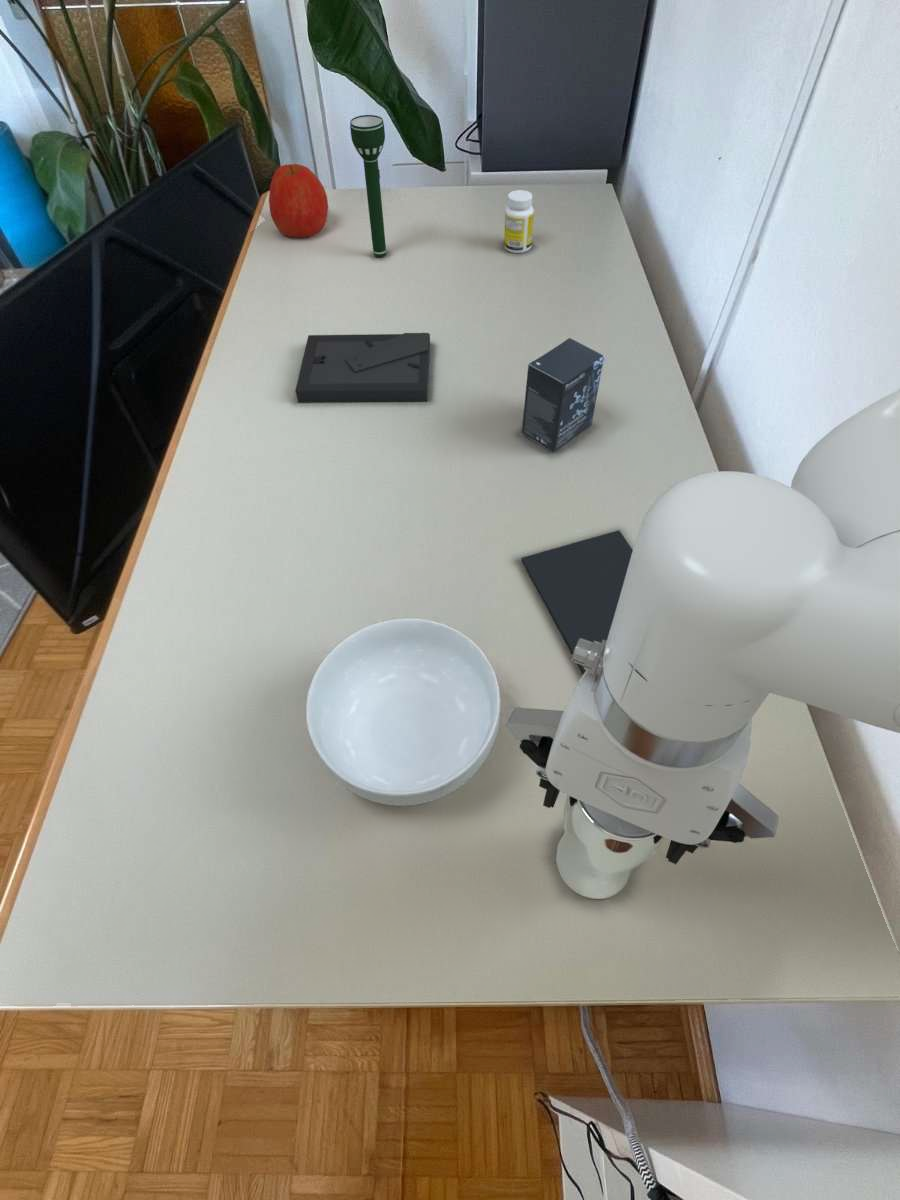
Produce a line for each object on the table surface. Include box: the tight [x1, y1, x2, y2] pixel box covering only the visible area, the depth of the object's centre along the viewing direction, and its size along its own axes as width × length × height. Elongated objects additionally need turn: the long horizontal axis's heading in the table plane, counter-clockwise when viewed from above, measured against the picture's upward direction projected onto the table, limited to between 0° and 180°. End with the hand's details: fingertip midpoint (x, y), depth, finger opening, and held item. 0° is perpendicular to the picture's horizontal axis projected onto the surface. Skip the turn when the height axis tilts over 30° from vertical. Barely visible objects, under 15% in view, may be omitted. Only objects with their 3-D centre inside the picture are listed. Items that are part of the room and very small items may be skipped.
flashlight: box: [349, 114, 387, 259], centre depth 112 cm, size 5×5×20 cm
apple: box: [268, 163, 329, 238], centre depth 122 cm, size 10×10×10 cm
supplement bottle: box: [503, 189, 535, 254], centre depth 117 cm, size 5×5×8 cm
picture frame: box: [295, 332, 431, 403], centre depth 98 cm, size 13×2×18 cm
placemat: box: [521, 529, 633, 675], centre depth 72 cm, size 20×12×1 cm, turn 19°
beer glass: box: [555, 794, 665, 900], centre depth 51 cm, size 7×7×15 cm
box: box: [521, 337, 605, 454], centre depth 86 cm, size 8×6×11 cm
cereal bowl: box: [305, 617, 501, 807], centre depth 62 cm, size 17×17×7 cm
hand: (614, 814), depth 49 cm, fingers open, 8 cm apart
